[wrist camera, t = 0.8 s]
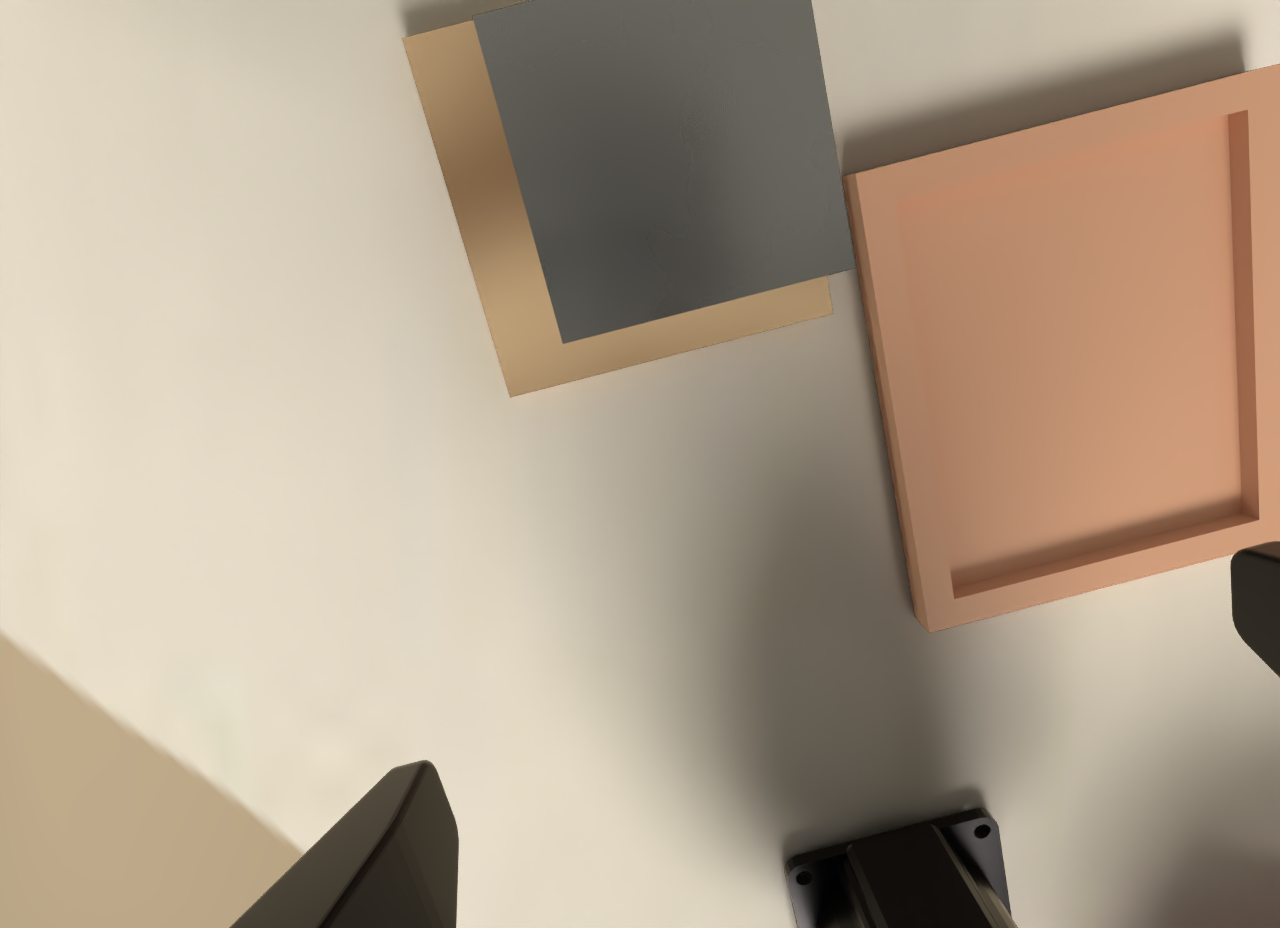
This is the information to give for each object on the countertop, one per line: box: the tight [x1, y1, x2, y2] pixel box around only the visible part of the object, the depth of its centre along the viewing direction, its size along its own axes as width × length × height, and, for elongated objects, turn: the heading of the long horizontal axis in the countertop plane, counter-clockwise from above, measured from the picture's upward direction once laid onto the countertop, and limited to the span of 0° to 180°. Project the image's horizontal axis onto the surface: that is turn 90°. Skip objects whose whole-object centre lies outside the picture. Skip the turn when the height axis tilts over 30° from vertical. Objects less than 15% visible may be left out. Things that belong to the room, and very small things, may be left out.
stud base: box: [402, 20, 833, 397], centre depth 18 cm, size 8×8×2 cm
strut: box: [472, 0, 856, 344], centre depth 14 cm, size 4×4×7 cm
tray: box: [842, 64, 1280, 633], centre depth 21 cm, size 12×10×1 cm
